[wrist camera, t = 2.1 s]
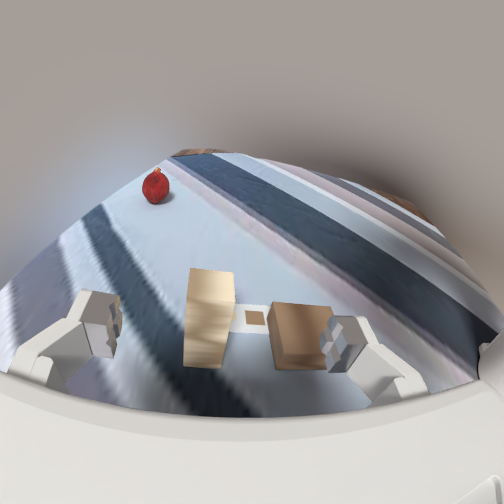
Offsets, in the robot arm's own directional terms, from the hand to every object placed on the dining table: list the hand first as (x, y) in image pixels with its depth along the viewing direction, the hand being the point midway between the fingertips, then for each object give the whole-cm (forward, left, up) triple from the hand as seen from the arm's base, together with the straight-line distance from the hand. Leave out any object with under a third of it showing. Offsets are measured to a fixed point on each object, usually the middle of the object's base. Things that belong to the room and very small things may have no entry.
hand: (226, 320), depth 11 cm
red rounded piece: (+12, -49, -18) cm, 54 cm away
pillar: (0, -12, -18) cm, 22 cm away
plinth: (-12, -14, -18) cm, 26 cm away
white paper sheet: (-5, -18, -18) cm, 26 cm away
